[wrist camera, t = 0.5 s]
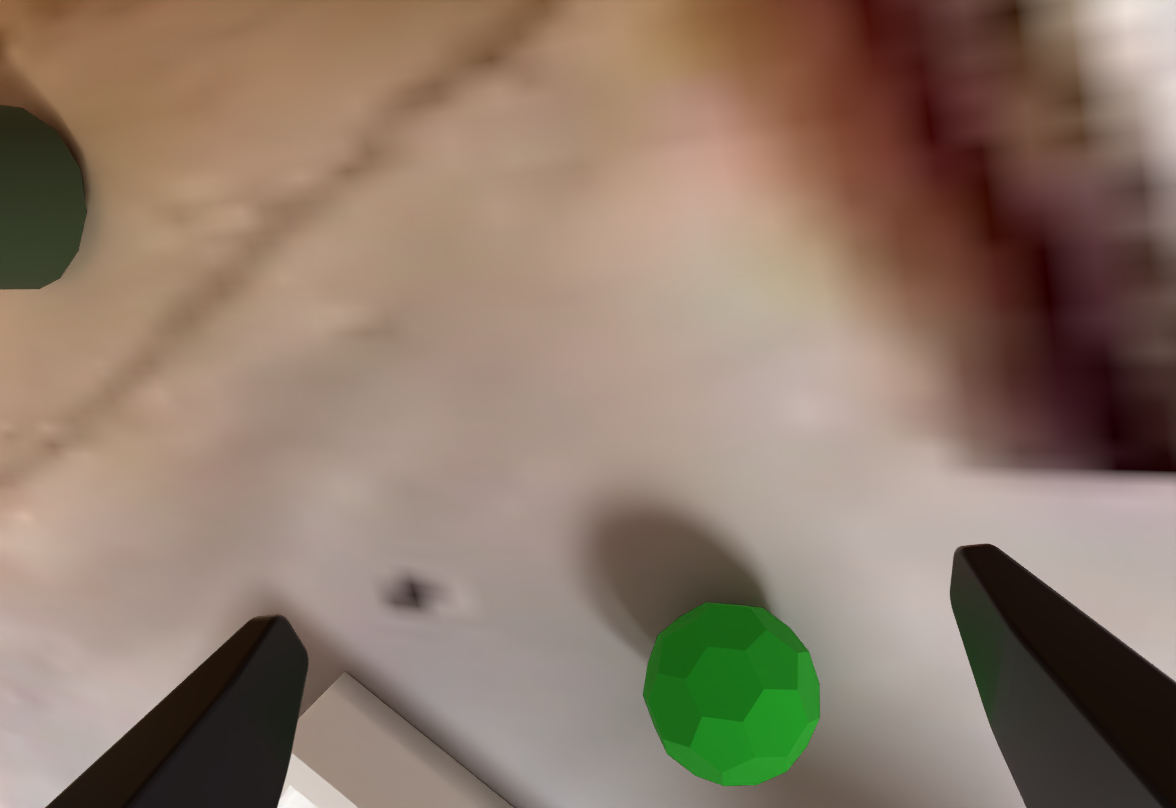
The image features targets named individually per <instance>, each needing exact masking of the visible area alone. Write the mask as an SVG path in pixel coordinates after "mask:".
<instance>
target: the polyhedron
mask: <svg viewBox="0 0 1176 808" xmlns="http://www.w3.org/2000/svg"><path fill="white" fill-rule="evenodd" d="M643 697H644V700H645V702H646V705H647V708H648V710H649V713H650V716H651V719H652V721H653V724H654V727H655V729H656V731H657V733H658V735H659V737H660V740H661V742H662V744H663V746H664V748H665V750H666V753H667V754H668V755H669V756H671V757H672V758H673V759H674V760H676V761H677V762H678V763H680V764H681V765H682V766H684V767H685V768H686V769H687V770H689V771H690V772H691V773H693V774H694V775H695V776H698V777H700V778H703V779H706V780H709V781H712V782H714V783H717V784H720V785H723V786H740V785H758V784H760V783H762V782H764V781H767V780H769V779H771V778H773V777H776V776H778V775H780V774H782V773H785V772H787V771H788V769H789V768H790V767H791V766H792V764H793V763H794V762H795V761H796V760H797V758H798V757H799V756H800V755H801V753H802V752H803V751H804V750H805V749H806V747H807V745H808V743H809V741H810V738H811V736H812V734H813V732H814V730H815V727H816V725H817V723H818V721H819V719H820V689H819V681H818V678H817V675H816V672H815V669H814V666H813V663H812V660H811V657H810V654H809V651H808V650H807V649H806V647H805V646H804V645H803V644H802V642H801V641H800V640H799V638H798V637H797V636H796V635H795V633H794V632H793V631H792V630H791V628H789V627H788V626H787V625H785V624H784V623H783V622H781V621H780V620H779V619H777V618H776V617H775V616H773V615H772V614H771V613H769V612H768V611H767V610H765V609H764V608H762V607H753V606H745V605H736V604H723V603H709V602H705V603H703V604H702V605H700V606H698V607H696V608H695V609H693V610H691V611H689V612H687V613H686V614H684V615H682V616H680V617H679V618H678V619H677V620H675V621H674V622H673V623H672V624H671V625H669V626H668V627H667V628H666V629H665V630H663V631H662V632H661V633H660V634H659V635H658V636H657V639H656V642H655V645H654V648H653V650H652V653H651V656H650V659H649V662H648V666H647V672H646V679H645V685H644V691H643Z"/></svg>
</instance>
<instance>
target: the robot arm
mask: <svg viewBox="0 0 1176 808" xmlns="http://www.w3.org/2000/svg"><path fill="white" fill-rule="evenodd" d="M950 600H951V605H952V610H953V613H954V616H955V619H956V622H957V625H958V628H959V632H960V635H961V638H962V641H963V644H964V647H965V650H966V653H967V656H968V660H969V663H970V666H971V669H972V672H973V675H974V678H975V681H976V684H977V688H978V691H979V694H980V697H981V700H982V703H983V706H984V709H985V712H986V715H987V718H988V721H989V724H990V726H991V729H992V731H993V734H994V736H995V738H996V741H997V743H998V746H999V748H1000V750H1001V752H1002V754H1003V757H1004V759H1005V761H1006V763H1007V765H1008V768H1009V770H1010V772H1011V774H1012V776H1013V779H1014V781H1015V783H1016V785H1017V788H1018V790H1019V792H1020V794H1021V796H1022V799H1023V801H1024V803H1025V805H1026V807H1027V808H1176V682H1175V681H1174V680H1173V679H1171V678H1170V677H1169V676H1167V675H1166V674H1165V673H1163V672H1162V671H1161V670H1159V669H1158V668H1157V667H1155V666H1154V665H1153V664H1151V663H1150V662H1149V661H1147V660H1146V659H1145V658H1143V657H1142V656H1141V655H1139V654H1138V653H1137V652H1135V651H1134V650H1133V649H1132V648H1130V647H1129V646H1128V645H1126V644H1125V643H1124V642H1122V641H1121V640H1120V639H1118V638H1117V637H1116V636H1114V635H1113V634H1112V633H1110V632H1109V631H1108V630H1106V629H1105V628H1104V627H1102V626H1101V625H1100V624H1098V623H1097V622H1096V621H1094V620H1093V619H1092V618H1090V617H1089V616H1088V615H1086V614H1085V613H1084V612H1082V611H1081V610H1080V609H1078V608H1077V607H1076V606H1074V605H1073V604H1072V603H1070V602H1069V601H1068V600H1066V599H1065V598H1064V597H1062V596H1061V595H1060V594H1058V593H1057V592H1056V591H1055V590H1053V589H1052V588H1051V587H1049V586H1048V585H1047V584H1045V583H1044V582H1043V581H1041V580H1040V579H1039V578H1037V577H1036V576H1035V575H1033V574H1032V573H1031V572H1029V571H1028V570H1027V569H1025V568H1024V567H1023V566H1021V565H1020V564H1019V563H1017V562H1016V561H1015V560H1013V559H1012V558H1011V557H1009V556H1008V555H1007V554H1005V553H1004V552H1003V551H1001V550H1000V549H999V548H997V547H996V546H994V545H991V544H977V545H967V546H960V547H958V548H957V549H956V551H955V553H954V557H953V567H952V576H951V585H950ZM307 671H308V654H307V651H306V649H305V647H304V645H303V644H302V642H301V640H300V639H299V637H298V636H297V634H296V632H295V631H294V629H293V627H292V626H291V624H290V623H289V621H288V620H287V618H286V617H284V616H282V615H278V614H277V615H267V616H258V617H255V618H253V619H251V620H250V621H248V622H247V623H246V624H245V625H244V626H243V627H242V628H240V629H239V630H238V631H237V632H236V633H235V634H234V635H233V636H232V637H231V638H230V639H229V640H227V641H226V642H225V643H224V644H223V645H222V646H221V647H220V648H219V649H218V650H217V651H215V652H214V653H213V654H212V655H211V656H210V657H209V658H208V659H207V660H206V661H205V662H203V663H202V664H201V665H200V666H199V667H198V668H197V669H196V670H195V671H194V672H193V673H191V674H190V675H189V676H188V677H187V678H186V679H185V680H184V681H183V682H182V683H181V684H179V685H178V686H177V687H176V688H175V689H174V690H173V691H172V692H171V693H170V694H169V695H168V696H166V697H165V698H164V699H163V700H162V701H161V702H160V703H159V704H158V705H157V706H156V707H154V708H153V709H152V710H151V711H150V712H149V713H148V714H147V715H146V716H145V717H144V718H142V719H141V720H140V721H139V722H138V723H137V724H136V725H135V726H134V727H133V728H132V729H130V730H129V731H128V732H127V733H126V734H125V735H124V736H123V737H122V738H121V739H120V740H118V741H117V742H116V743H115V744H114V745H113V746H112V747H111V748H110V749H109V750H108V751H106V752H105V753H104V754H103V755H102V756H101V757H100V758H99V759H98V760H97V761H96V762H94V763H93V764H92V765H91V766H90V767H89V768H88V769H87V770H86V771H85V772H84V773H82V774H81V775H80V776H79V777H78V778H77V779H76V780H75V781H74V782H73V783H72V784H70V785H69V786H68V787H67V788H66V789H65V790H64V791H63V792H62V793H61V794H60V795H58V796H57V797H56V798H55V799H54V800H53V801H52V802H51V803H50V804H49V805H48V806H46V807H45V808H277V807H278V803H279V800H280V797H281V793H282V790H283V786H284V782H285V779H286V775H287V771H288V767H289V763H290V758H291V753H292V748H293V743H294V738H295V733H296V728H297V723H298V717H299V712H300V707H301V702H302V697H303V692H304V686H305V681H306V676H307Z"/></svg>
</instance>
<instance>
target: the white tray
mask: <svg viewBox="0 0 1176 808" xmlns="http://www.w3.org/2000/svg"><path fill="white" fill-rule="evenodd" d="M277 808H514V807H512V806H511V805H510V804H509V803H507V802H506V801H505V800H504V799H502V798H501V797H500V796H499V795H497V794H496V793H495V792H494V791H492V790H491V789H490V788H489V787H488V786H486V785H485V784H484V783H483V782H481V781H480V780H479V779H478V778H476V777H475V776H474V775H473V774H471V773H470V772H469V771H468V770H466V769H465V768H464V767H463V766H461V765H460V764H459V763H458V762H457V761H455V760H454V759H453V758H452V757H450V756H449V755H448V754H447V753H445V752H444V751H443V750H442V749H440V748H439V747H438V746H437V745H435V744H434V743H433V742H432V741H431V740H429V739H428V738H427V737H426V736H424V735H423V734H422V733H421V732H419V731H418V730H417V729H416V728H414V727H413V726H412V725H411V724H409V723H408V722H407V721H406V720H404V719H403V718H402V717H401V716H400V715H398V714H397V713H396V712H395V711H393V710H392V709H391V708H390V707H388V706H387V705H386V704H385V703H383V702H382V701H381V700H380V699H378V698H377V697H376V696H375V695H373V694H372V693H371V692H370V691H369V690H367V689H366V688H365V687H364V686H362V685H361V684H360V683H359V682H357V681H356V680H355V679H354V678H352V677H351V676H350V675H349V674H347V673H346V672H344V673H343V674H342V675H341V676H340V677H339V678H338V679H337V680H336V681H335V682H334V683H333V684H332V685H331V686H330V687H329V688H328V689H327V690H326V691H325V692H324V693H323V694H322V695H321V696H320V697H319V698H318V699H317V700H316V701H315V702H314V703H313V704H312V705H311V706H310V707H309V708H308V709H307V710H306V711H305V713H304V714H303V715H302V716H301V717H300V718H299V719H298V723H297V728H296V733H295V738H294V743H293V748H292V753H291V758H290V763H289V767H288V771H287V775H286V779H285V782H284V786H283V790H282V793H281V797H280V800H279V803H278V807H277Z"/></svg>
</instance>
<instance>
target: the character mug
mask: <svg viewBox="0 0 1176 808" xmlns="http://www.w3.org/2000/svg"><path fill="white" fill-rule="evenodd" d="M86 213H87V210H86V203H85V197H84V190H83V184H82V177H81V171H80V168H79V166H78V165H77V163H76V161H75V160H74V158H73V156H72V155H71V153H70V152H69V150H68V148H67V147H66V145H65V143H64V142H63V140H62V139H61V137H60V135H59V134H58V132H57V131H55V130H54V129H52V128H51V127H49V126H48V125H47V124H45V123H44V122H42V121H41V120H39V119H38V118H36V117H35V116H33V115H32V114H31V113H29V112H28V111H26V110H25V109H23V108H18V107H11V106H4V105H0V289H40V288H42V287H44V286H46V285H48V284H50V283H52V282H54V281H56V280H58V279H60V278H61V276H62V275H63V273H64V272H65V270H66V269H67V267H68V266H69V264H70V263H71V261H72V260H73V258H74V257H75V255H76V254H77V252H78V250H79V246H80V241H81V236H82V231H83V227H84V222H85V217H86Z"/></svg>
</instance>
